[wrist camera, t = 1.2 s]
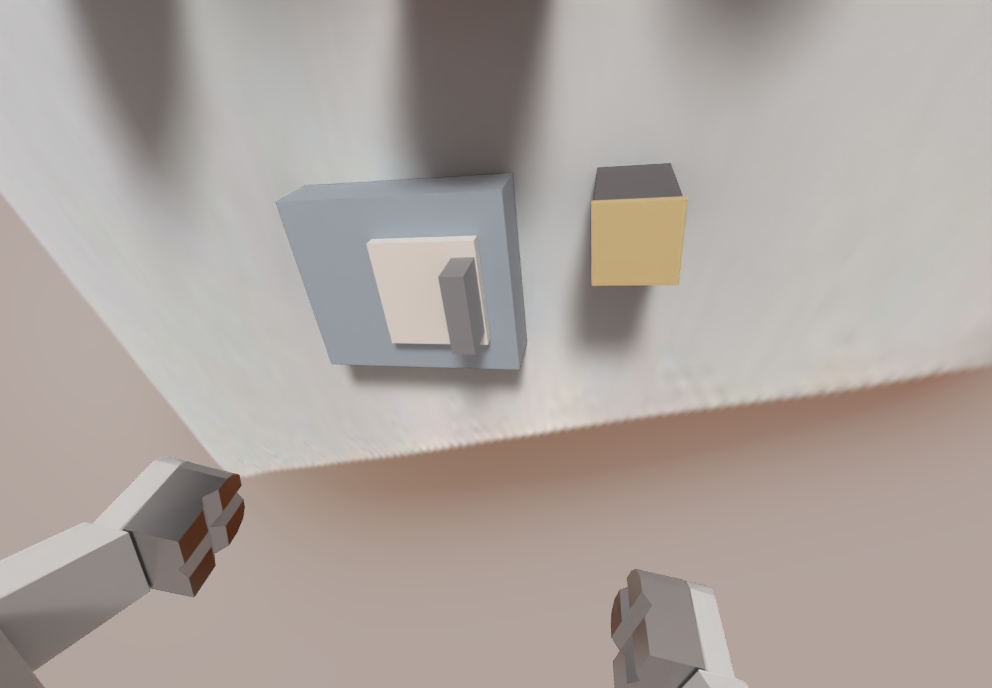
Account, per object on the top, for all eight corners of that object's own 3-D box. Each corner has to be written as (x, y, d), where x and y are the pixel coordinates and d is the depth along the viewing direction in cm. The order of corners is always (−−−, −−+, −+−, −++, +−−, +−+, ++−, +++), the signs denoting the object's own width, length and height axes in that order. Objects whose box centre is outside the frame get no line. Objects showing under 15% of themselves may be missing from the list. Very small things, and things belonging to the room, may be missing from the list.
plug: (672, 161, 28) (687, 199, 22) (666, 233, 30) (678, 285, 24) (595, 166, 29) (591, 204, 23) (595, 235, 31) (591, 285, 25)
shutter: (477, 235, 28) (462, 259, 26) (490, 338, 32) (479, 368, 29) (371, 238, 30) (346, 261, 27) (396, 336, 34) (376, 365, 31)
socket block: (512, 173, 30) (501, 189, 27) (527, 341, 36) (519, 369, 33) (304, 185, 33) (275, 201, 30) (352, 338, 39) (331, 364, 36)
